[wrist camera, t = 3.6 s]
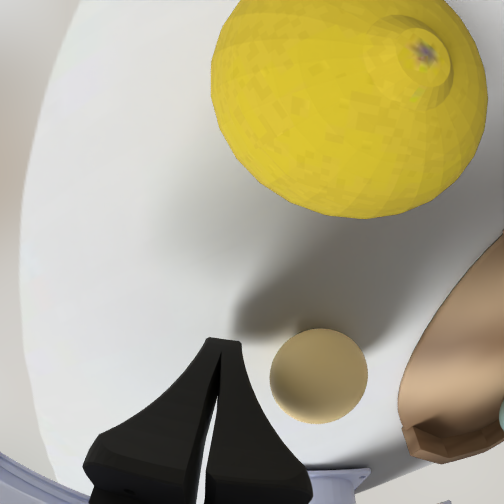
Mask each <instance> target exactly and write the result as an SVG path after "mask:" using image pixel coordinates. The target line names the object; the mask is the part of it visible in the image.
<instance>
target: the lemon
mask: <svg viewBox="0 0 504 504" xmlns="http://www.w3.org/2000/svg"><path fill="white" fill-rule="evenodd" d="M211 99H212V102H213V106H214V110H215V113H216V117H217V121H218V124H219V128H220V130H221V132H222V134H223V135H224V137H225V139H226V141H227V142H228V144H229V146H230V148H231V150H232V151H233V153H234V155H235V157H236V158H237V159H238V160H239V161H240V162H241V164H242V165H243V166H244V167H245V168H246V169H247V170H248V171H249V172H250V173H251V174H252V175H253V176H254V177H255V178H256V179H257V180H258V181H259V182H260V183H261V184H263V185H264V186H266V187H267V188H269V189H270V190H272V191H273V192H275V193H276V194H278V195H280V196H281V197H283V198H284V199H286V200H287V201H289V202H291V203H293V204H296V205H299V206H302V207H304V208H307V209H310V210H313V211H315V212H318V213H321V214H324V215H328V216H338V217H348V218H357V219H369V218H376V217H383V216H390V215H397V214H400V213H403V212H406V211H408V210H411V209H413V208H415V207H418V206H420V205H422V204H425V203H427V202H429V201H432V200H433V199H434V198H435V197H437V196H438V195H439V194H440V193H442V192H443V191H444V190H445V189H447V188H448V187H449V186H450V185H452V184H453V183H454V182H455V181H456V180H457V179H458V178H459V176H460V175H461V174H462V172H463V171H464V169H465V168H466V167H467V165H468V164H469V162H470V161H471V160H472V158H473V157H474V155H475V153H476V150H477V148H478V145H479V142H480V140H481V137H482V135H483V132H484V128H485V121H486V113H487V103H488V94H487V85H486V77H485V70H484V67H483V64H482V61H481V58H480V55H479V52H478V49H477V47H476V44H475V42H474V40H473V38H472V37H471V35H470V33H469V31H468V30H467V28H466V27H465V25H464V23H463V22H462V20H461V19H460V17H459V16H458V15H457V14H456V13H455V12H454V10H453V9H452V8H451V7H450V6H449V5H448V4H447V3H446V2H445V1H444V0H240V2H239V3H238V5H237V6H236V7H235V9H234V10H233V12H232V13H231V15H230V16H229V18H228V19H227V21H226V22H225V24H224V25H223V27H222V29H221V32H220V35H219V38H218V41H217V45H216V48H215V51H214V54H213V58H212V61H211Z"/></svg>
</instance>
